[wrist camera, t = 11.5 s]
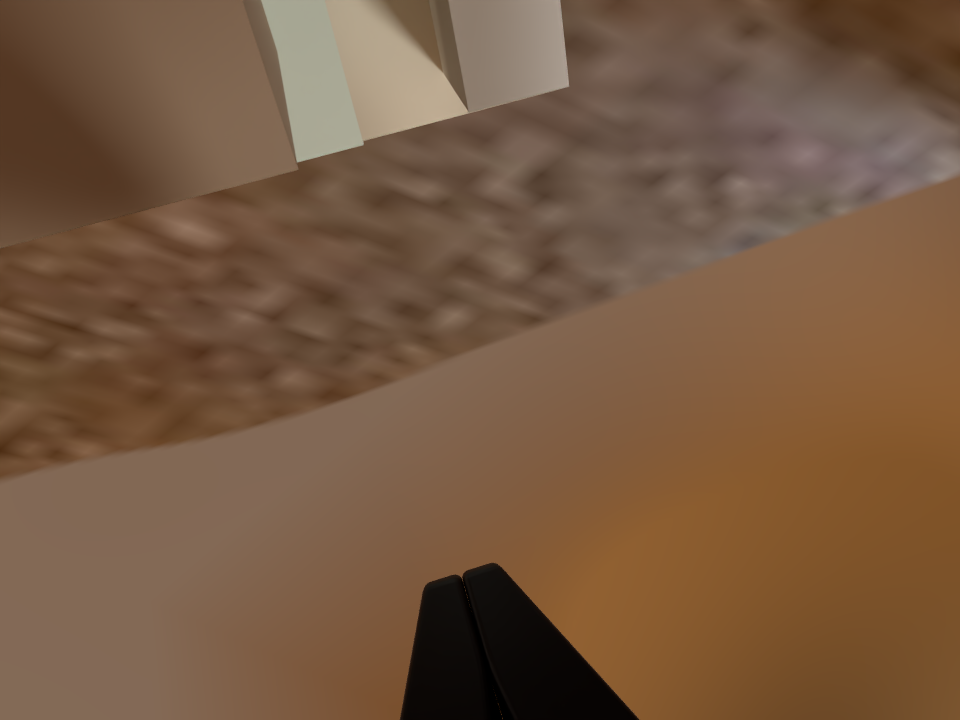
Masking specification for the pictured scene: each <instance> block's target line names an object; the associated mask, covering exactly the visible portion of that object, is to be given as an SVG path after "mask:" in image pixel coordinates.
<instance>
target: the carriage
mask: <svg viewBox="0 0 960 720" xmlns="http://www.w3.org/2000/svg"><path fill="white" fill-rule="evenodd" d="M361 145H364V144H363V140H362V136H361V133H360V129H359V125H358V122H357V118H356V114H355V110H354V107H353V103H352V99H351V96H350V92H349V88H348V85H347V81H346V77H345V74H344V70H343V66H342V63H341V59H340V55H339V51H338V48H337V44H336V40H335V37H334V33H333V29H332V26H331V22H330V18H329V15H328V11H327V7H326V4H325V0H0V248H4V247H8V246H11V245H15V244H19V243H23V242H27V241H30V240H34V239H38V238H42V237H45V236H49V235H53V234H57V233H61V232H64V231H68V230H72V229H76V228H80V227H83V226H87V225H91V224H95V223H98V222H102V221H106V220H110V219H114V218H117V217H121V216H125V215H129V214H133V213H136V212H140V211H144V210H148V209H151V208H155V207H159V206H163V205H167V204H170V203H174V202H178V201H182V200H186V199H189V198H193V197H197V196H201V195H204V194H208V193H212V192H216V191H220V190H223V189H227V188H231V187H235V186H239V185H242V184H246V183H250V182H254V181H257V180H261V179H265V178H269V177H273V176H276V175H280V174H284V173H288V172H292V171H295V170H298V166H297V162H300V161H304V160H308V159H312V158H316V157H319V156H323V155H327V154H331V153H335V152H338V151H342V150H346V149H350V148H354V147H357V146H361Z"/></svg>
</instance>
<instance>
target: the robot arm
mask: <svg viewBox="0 0 960 720" xmlns="http://www.w3.org/2000/svg"><path fill="white" fill-rule="evenodd" d="M462 578H463V581H462ZM462 578H461V577H460V576H458V575H451V576H448V577H445V578H441V579H438V580H435V581H432V582H429V583H428V584H427V585H426V586H425V587H424V590H423V594H422V600H421V605H420V610H419V616H418V621H417V627H416V633H415V638H414V644H413V650H412V655H411V661H410V666H409V672H408V678H407V683H406V689H405V694H404V700H403V706H402V711H401V717H400V720H639V719H638V718H637V716H636V715H635V714H634V713H633V712H632V711H631V710H630V709H629V707H627V706H626V704H625V703H624V702H623V701H622V700H621V699H620V698H619V696H618V695H617V694H616V693H615V692H614V691H613V690H612V689H611V688H610V687H609V685H608V684H607V683H606V682H605V681H604V680H603V679H602V678H601V677H600V675H599V674H598V673H597V672H596V671H595V670H594V669H593V668H592V667H591V666H590V664H588V662H587V661H586V660H585V659H584V658H583V657H582V656H581V654H580V653H579V652H578V651H577V650H576V649H575V648H574V647H573V646H572V645H571V644H570V642H569V641H568V640H567V639H566V638H565V637H564V636H563V635H562V634H561V632H560V631H559V630H558V629H557V628H556V627H555V626H554V625H553V624H552V622H551V621H550V620H549V619H548V618H547V617H546V616H545V615H544V614H543V613H542V611H541V610H540V609H539V608H538V607H537V606H536V605H535V604H534V603H533V602H532V600H531V599H530V598H529V597H528V596H527V595H526V594H525V593H524V592H523V591H522V589H521V588H520V587H519V586H518V585H517V584H516V583H515V582H514V581H513V580H512V578H511V577H510V576H509V575H508V574H507V573H506V572H505V571H504V570H503V569H502V567H500V566H499V565H498V564H496V563H489V564H486V565H483V566H480V567H477V568H473V569H470V570H467V571H466V572H465V573H464V574H463V576H462ZM463 583H464V584H463ZM464 586H465V588H464ZM465 590H466V591H465ZM466 593H467V594H466ZM467 597H468V598H467ZM468 600H469V601H468ZM469 604H470V605H469ZM470 607H471V608H470ZM493 687H494V688H493ZM495 694H496V695H495ZM497 701H498V702H497ZM498 704H499V705H498ZM500 711H501V712H500ZM501 714H502V715H501ZM502 718H503V719H502Z"/></svg>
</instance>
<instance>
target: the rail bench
mask: <svg viewBox="0 0 960 720" xmlns="http://www.w3.org/2000/svg"><path fill="white" fill-rule="evenodd" d="M325 4H326V7H327V11H328V15H329V18H330V22H331V26H332V29H333V33H334V37H335V40H336V44H337V48H338V51H339V55H340V59H341V63H342V66H343V70H344V74H345V77H346V81H347V85H348V88H349V92H350V96H351V99H352V103H353V107H354V110H355V114H356V118H357V122H358V125H359V129H360V133H361V136H362V140H363V141H365V140H368V139H372V138H376V137H380V136H384V135H387V134H391V133H395V132H399V131H403V130H406V129H410V128H414V127H418V126H422V125H425V124H429V123H433V122H437V121H441V120H444V119H448V118H452V117H456V116H460V115H463V114H467V113H471V112H475V111H479V110H483V109H486V108H490V107H494V106H498V105H502V104H505V103H509V102H513V101H517V100H521V99H524V98H528V97H532V96H536V95H540V94H543V93H547V92H551V91H555V90H559V89H561V88H565V87H569V81H568V71H567V62H566V52H565V43H564V33H563V23H562V14H561V4H560V0H325Z"/></svg>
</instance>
